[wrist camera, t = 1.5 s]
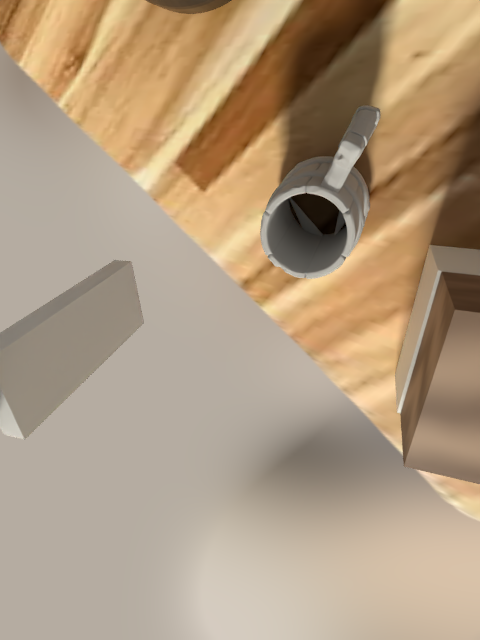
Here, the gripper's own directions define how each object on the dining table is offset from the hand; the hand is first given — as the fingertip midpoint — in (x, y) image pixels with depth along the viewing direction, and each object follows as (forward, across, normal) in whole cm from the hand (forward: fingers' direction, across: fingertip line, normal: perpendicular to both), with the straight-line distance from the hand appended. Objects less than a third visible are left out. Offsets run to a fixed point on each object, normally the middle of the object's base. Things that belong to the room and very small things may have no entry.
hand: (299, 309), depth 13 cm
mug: (+23, -1, 0) cm, 23 cm away
